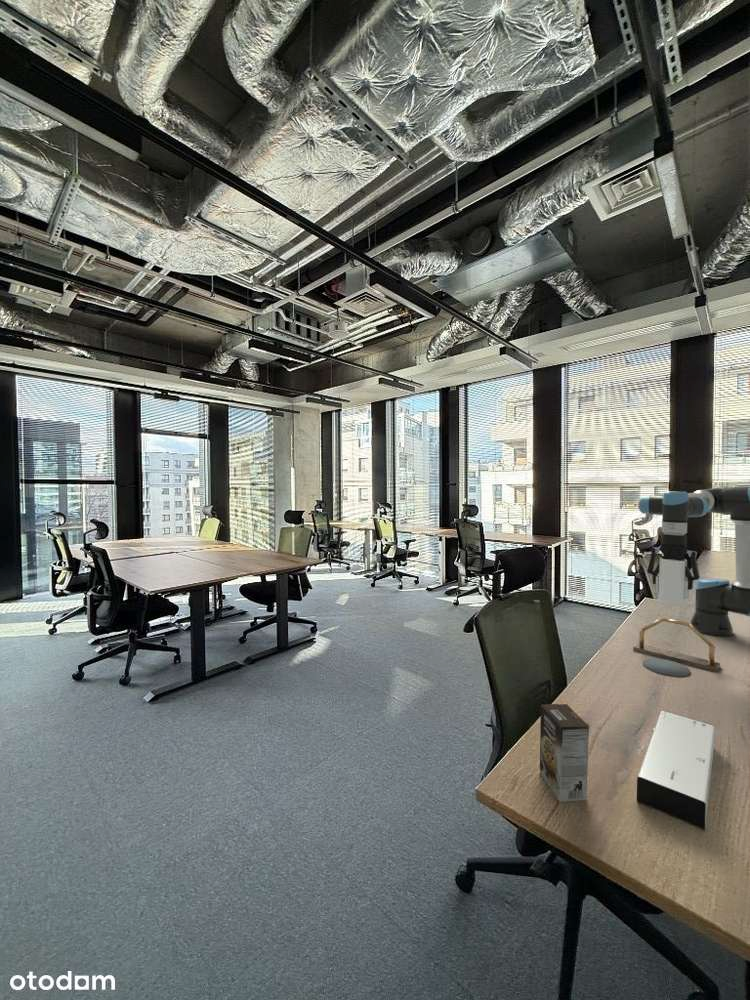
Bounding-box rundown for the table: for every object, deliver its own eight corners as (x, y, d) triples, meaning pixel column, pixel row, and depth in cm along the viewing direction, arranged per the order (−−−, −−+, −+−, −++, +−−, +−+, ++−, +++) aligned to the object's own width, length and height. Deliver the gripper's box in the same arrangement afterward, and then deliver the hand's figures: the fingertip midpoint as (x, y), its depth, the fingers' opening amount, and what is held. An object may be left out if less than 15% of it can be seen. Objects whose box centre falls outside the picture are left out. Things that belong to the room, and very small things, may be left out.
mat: (649, 656, 162) (649, 655, 162) (694, 668, 152) (694, 666, 152) (637, 667, 153) (637, 665, 153) (684, 680, 142) (684, 678, 142)
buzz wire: (638, 646, 172) (639, 611, 171) (719, 667, 153) (721, 627, 152) (633, 650, 168) (634, 614, 167) (716, 672, 149) (718, 631, 148)
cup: (676, 599, 159) (678, 557, 159) (690, 605, 151) (692, 561, 151) (653, 598, 160) (655, 556, 160) (666, 605, 152) (667, 560, 151)
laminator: (704, 834, 81) (705, 803, 80) (630, 802, 89) (630, 773, 88) (713, 749, 106) (714, 725, 106) (655, 730, 114) (656, 708, 114)
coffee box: (538, 773, 97) (539, 703, 96) (565, 771, 98) (566, 702, 97) (558, 803, 88) (560, 726, 87) (588, 801, 88) (590, 725, 88)
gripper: (638, 531, 160) (636, 591, 161) (708, 537, 145) (705, 603, 145) (644, 530, 165) (642, 588, 166) (712, 535, 150) (709, 599, 150)
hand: (671, 595), depth 156 cm, fingers closed on cup, 8 cm apart
